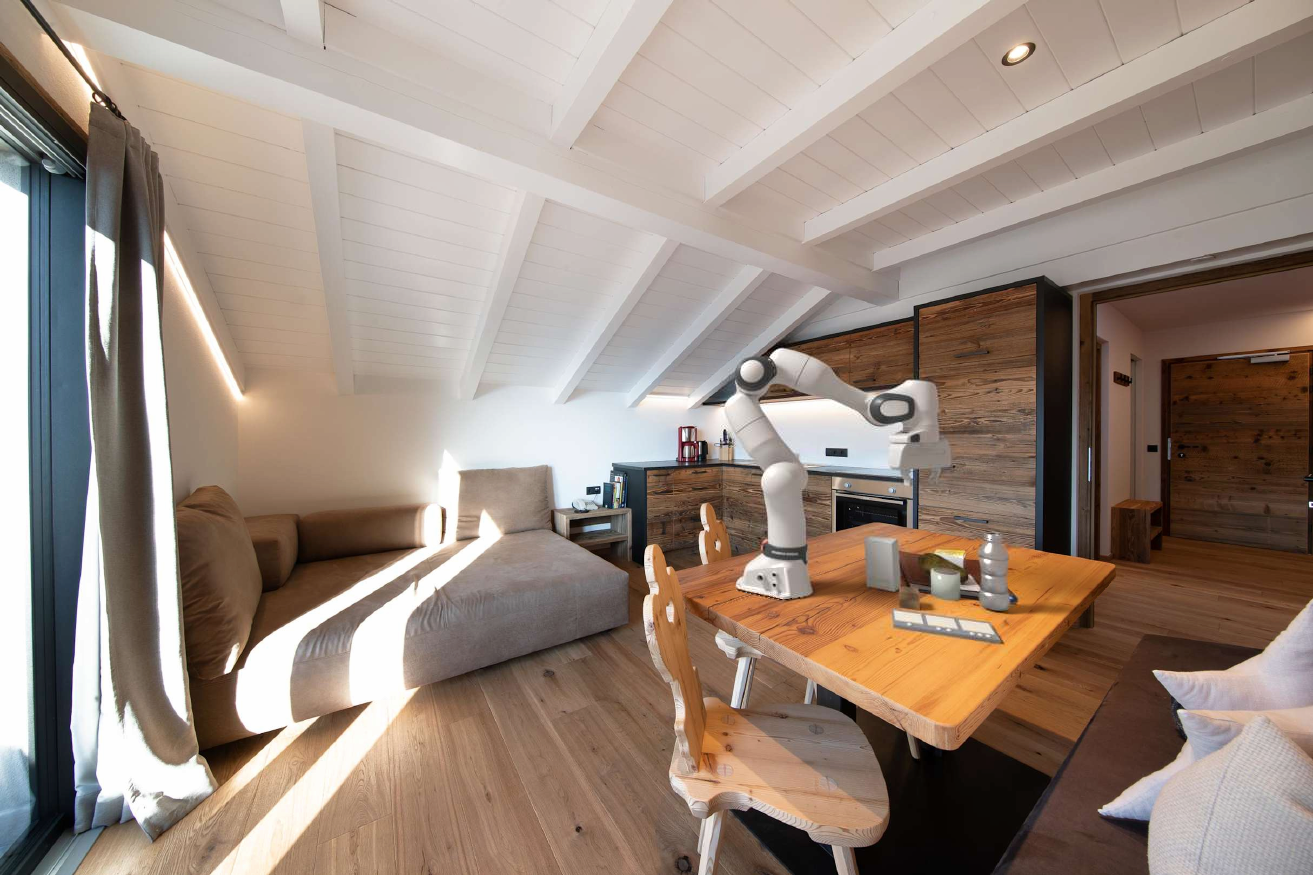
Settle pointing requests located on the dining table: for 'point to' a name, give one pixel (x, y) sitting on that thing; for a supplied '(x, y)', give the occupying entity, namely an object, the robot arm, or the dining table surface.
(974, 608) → the dining table surface
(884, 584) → the skincare box
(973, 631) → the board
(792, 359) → the robot arm
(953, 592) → the sage mug
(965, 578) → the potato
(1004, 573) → the plastic bottle
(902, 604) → the marker cube
